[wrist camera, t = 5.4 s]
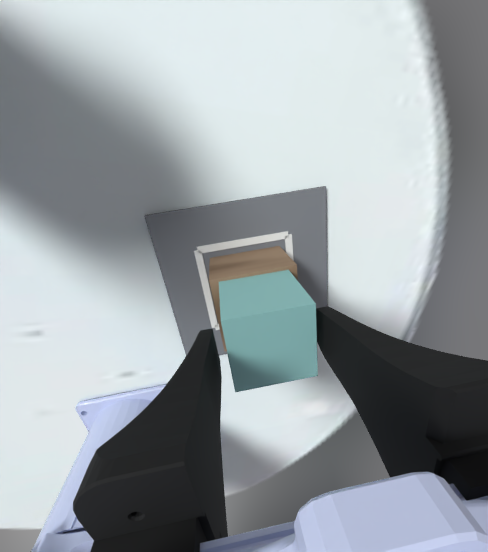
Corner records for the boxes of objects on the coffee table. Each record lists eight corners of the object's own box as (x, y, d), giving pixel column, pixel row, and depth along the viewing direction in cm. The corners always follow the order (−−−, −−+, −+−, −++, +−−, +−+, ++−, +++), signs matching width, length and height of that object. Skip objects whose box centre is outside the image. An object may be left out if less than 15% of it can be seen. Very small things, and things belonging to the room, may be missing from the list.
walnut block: (284, 306, 20) (301, 336, 16) (222, 317, 19) (224, 351, 16) (279, 245, 18) (296, 264, 14) (209, 257, 17) (208, 280, 14)
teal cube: (292, 328, 16) (317, 375, 12) (229, 339, 15) (235, 392, 12) (288, 269, 14) (316, 303, 10) (218, 281, 14) (220, 320, 10)
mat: (326, 331, 21) (328, 334, 21) (188, 358, 21) (187, 362, 20) (324, 186, 17) (326, 186, 16) (145, 215, 16) (144, 216, 16)
